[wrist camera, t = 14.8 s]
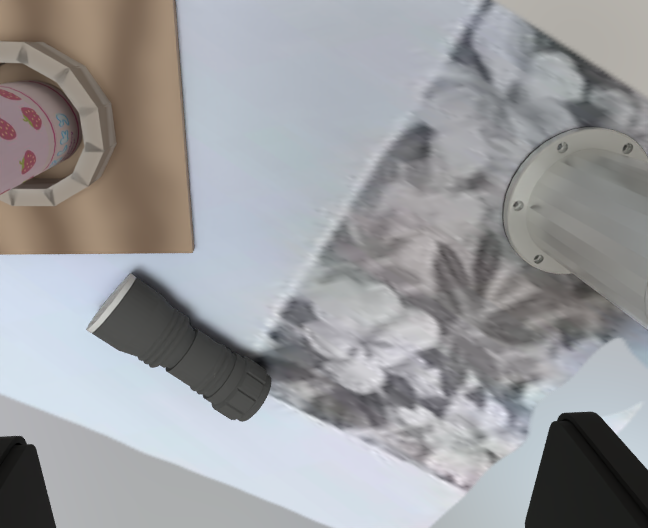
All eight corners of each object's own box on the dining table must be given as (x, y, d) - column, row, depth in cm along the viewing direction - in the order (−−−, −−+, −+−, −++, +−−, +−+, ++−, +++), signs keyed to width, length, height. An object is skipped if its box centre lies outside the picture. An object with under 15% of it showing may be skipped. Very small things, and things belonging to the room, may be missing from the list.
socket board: (172, -32, 33) (160, -42, 30) (194, 248, 41) (186, 267, 38) (-156, -48, 31) (-212, -60, 28) (-67, 250, 39) (-102, 271, 36)
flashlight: (277, 363, 47) (278, 400, 42) (239, 399, 48) (236, 440, 43) (137, 263, 41) (119, 293, 37) (99, 307, 43) (77, 341, 38)
